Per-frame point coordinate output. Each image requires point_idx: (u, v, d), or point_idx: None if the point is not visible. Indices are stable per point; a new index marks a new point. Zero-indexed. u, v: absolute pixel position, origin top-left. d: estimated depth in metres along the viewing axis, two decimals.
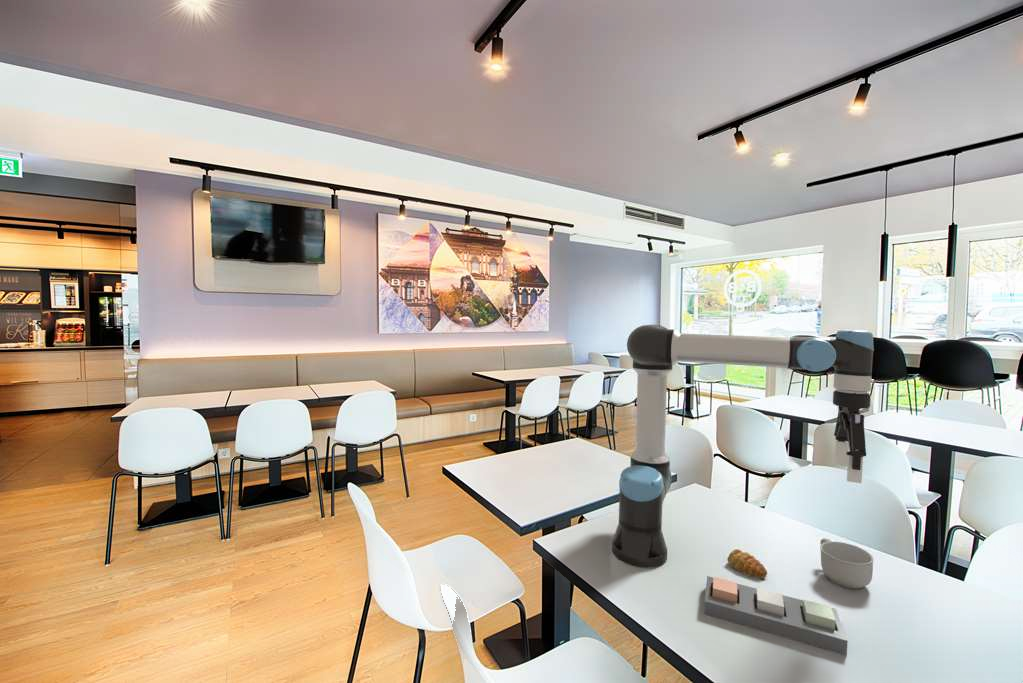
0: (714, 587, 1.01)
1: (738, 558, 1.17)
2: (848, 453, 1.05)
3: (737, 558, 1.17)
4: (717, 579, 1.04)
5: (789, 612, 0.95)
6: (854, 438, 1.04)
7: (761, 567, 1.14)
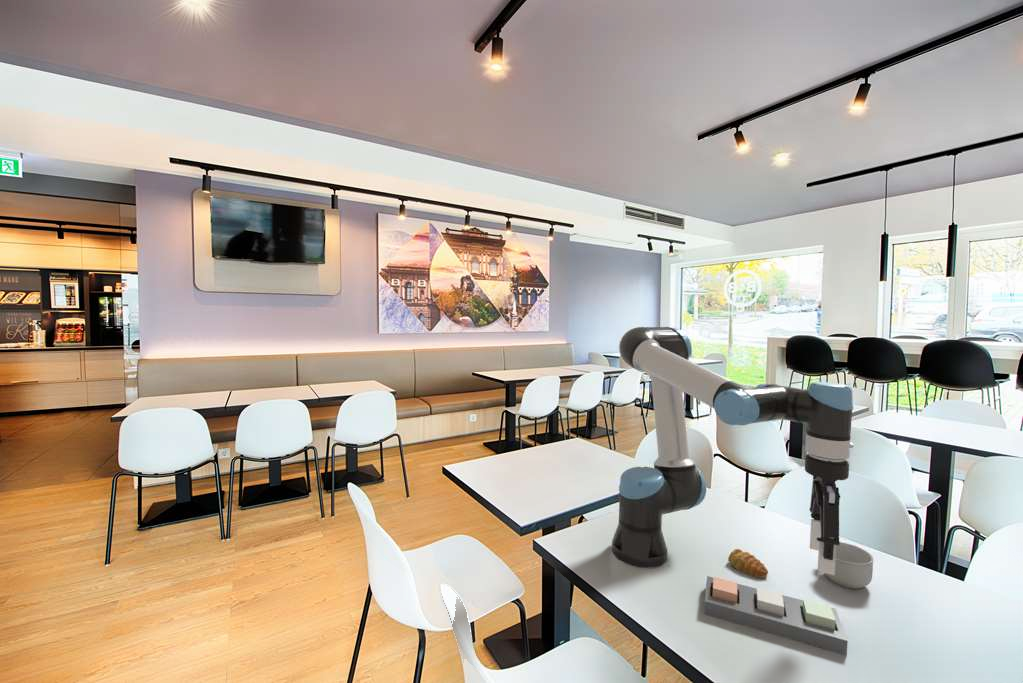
0: (714, 587, 1.01)
1: (738, 557, 1.17)
2: (818, 539, 0.88)
3: (738, 558, 1.17)
4: (717, 579, 1.04)
5: (789, 612, 0.95)
6: (826, 523, 0.86)
7: (762, 566, 1.14)
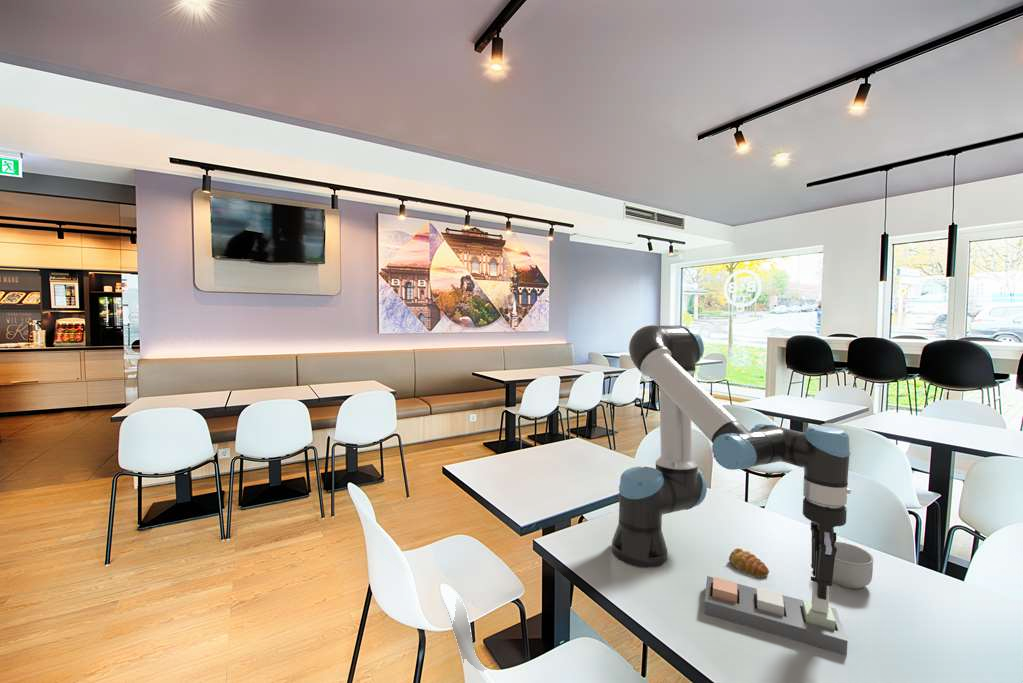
0: (714, 587, 1.01)
1: (739, 557, 1.18)
2: (812, 580, 0.92)
3: (739, 557, 1.17)
4: (717, 579, 1.04)
5: (789, 612, 0.95)
6: (821, 569, 0.89)
7: (763, 566, 1.14)
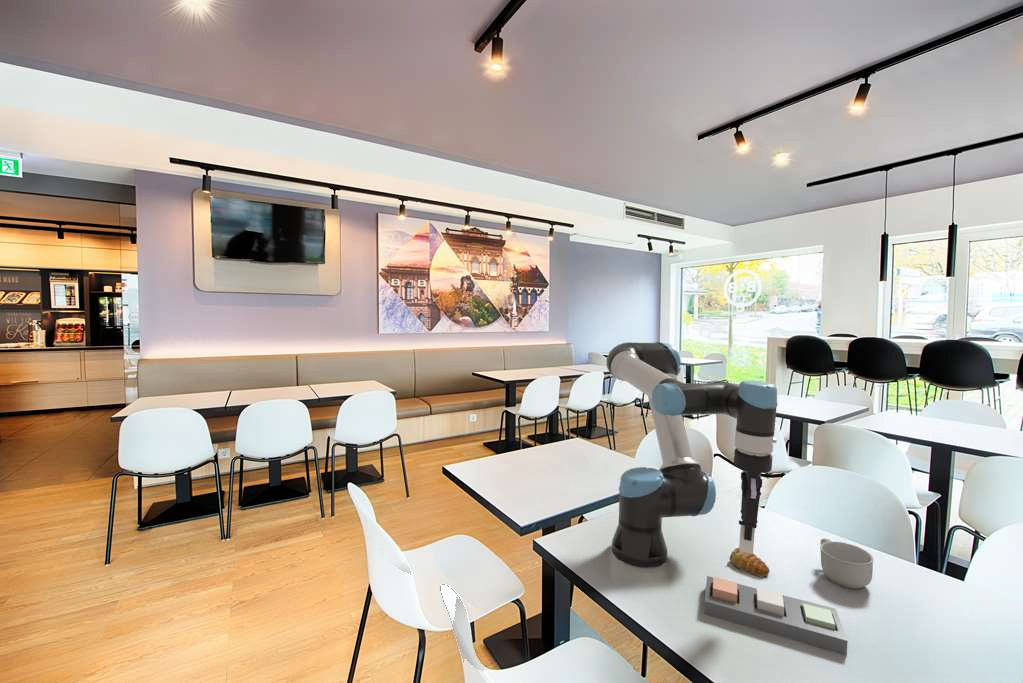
0: (714, 587, 1.01)
1: (740, 556, 1.18)
2: (740, 524, 0.99)
3: (739, 557, 1.18)
4: (717, 579, 1.04)
5: (789, 612, 0.95)
6: (747, 513, 0.96)
7: (763, 565, 1.15)
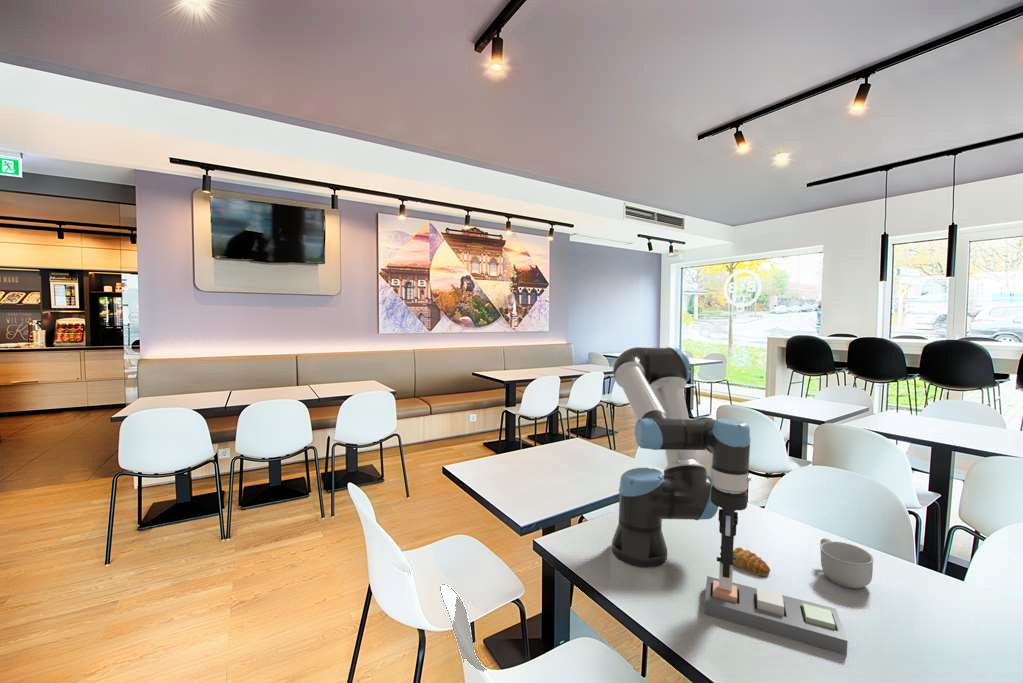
0: (714, 590, 1.01)
1: (741, 556, 1.18)
2: (718, 560, 1.00)
3: (740, 556, 1.18)
4: (717, 582, 1.04)
5: (789, 612, 0.95)
6: (723, 550, 0.97)
7: (764, 564, 1.15)
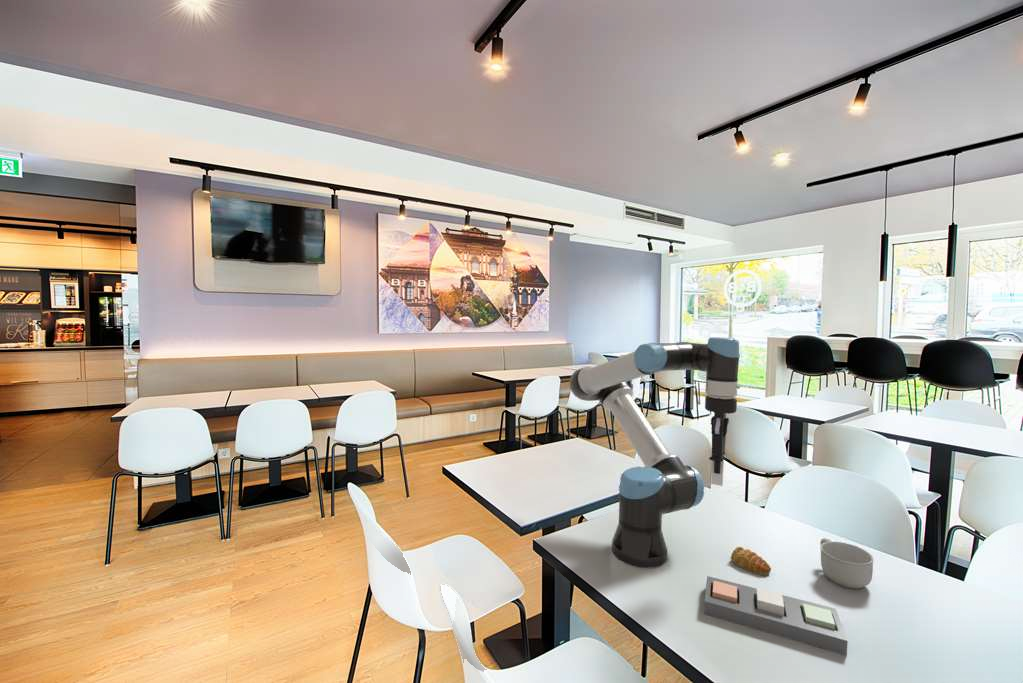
0: (714, 591, 1.01)
1: (742, 555, 1.18)
2: (710, 459, 1.15)
3: (741, 556, 1.18)
4: (717, 583, 1.04)
5: (789, 612, 0.95)
6: (713, 447, 1.12)
7: (765, 563, 1.15)
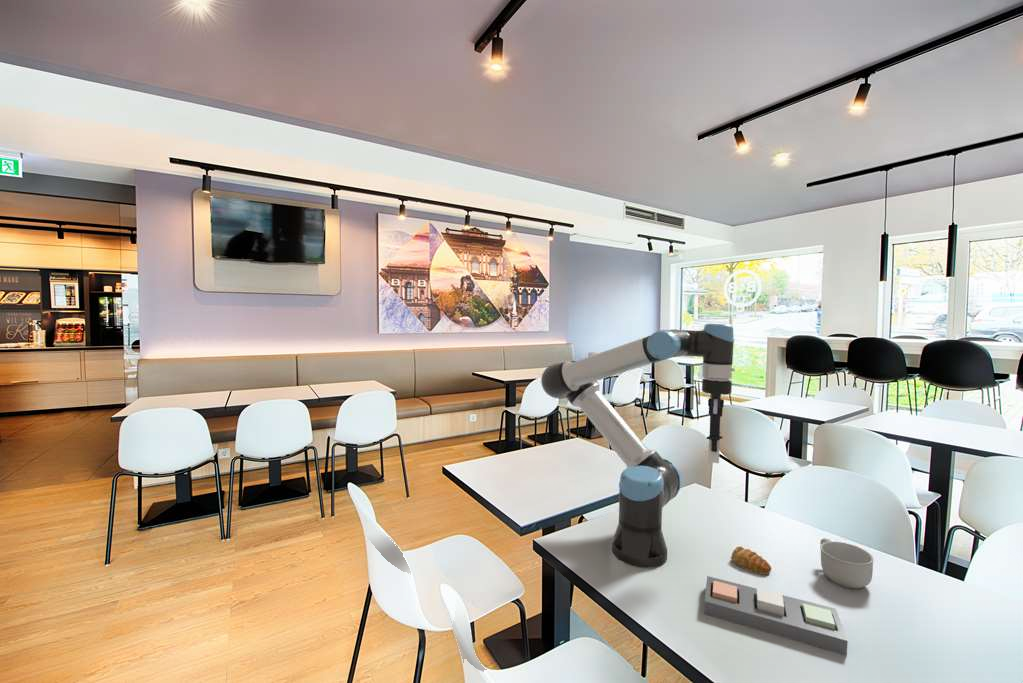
0: (714, 591, 1.01)
1: (742, 555, 1.19)
2: (707, 438, 1.23)
3: (741, 555, 1.18)
4: (717, 583, 1.04)
5: (789, 612, 0.95)
6: (711, 427, 1.20)
7: (765, 563, 1.16)
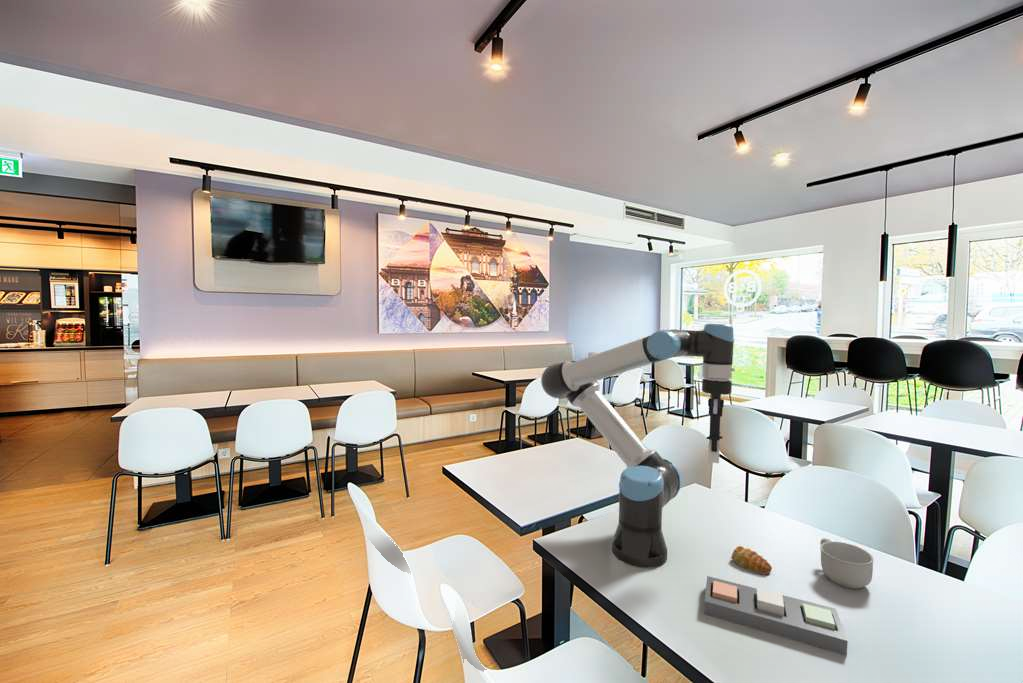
0: (714, 591, 1.01)
1: (742, 555, 1.19)
2: (707, 438, 1.23)
3: (742, 555, 1.19)
4: (717, 583, 1.04)
5: (789, 612, 0.95)
6: (711, 427, 1.20)
7: (766, 562, 1.16)
